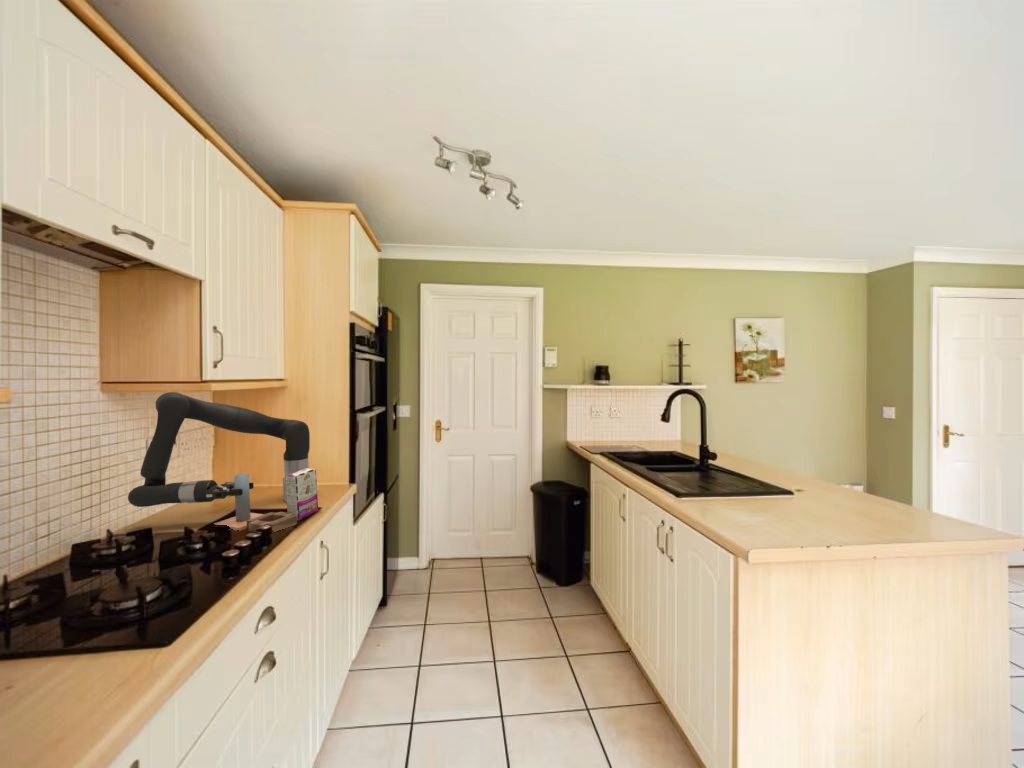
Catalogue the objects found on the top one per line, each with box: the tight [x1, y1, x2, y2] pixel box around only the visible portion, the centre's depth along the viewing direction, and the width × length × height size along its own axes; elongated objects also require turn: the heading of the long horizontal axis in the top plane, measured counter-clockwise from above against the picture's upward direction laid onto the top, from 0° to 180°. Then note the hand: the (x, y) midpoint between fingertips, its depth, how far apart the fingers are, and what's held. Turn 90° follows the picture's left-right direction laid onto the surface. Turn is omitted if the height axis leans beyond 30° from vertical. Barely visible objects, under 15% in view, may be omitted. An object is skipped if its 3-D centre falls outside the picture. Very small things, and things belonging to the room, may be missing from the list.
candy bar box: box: [285, 467, 319, 521], centre depth 164 cm, size 11×5×16 cm, turn 168°
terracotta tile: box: [213, 512, 265, 532], centre depth 158 cm, size 13×13×1 cm
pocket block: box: [246, 511, 298, 533], centre depth 152 cm, size 12×12×3 cm
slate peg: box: [233, 473, 251, 522], centre depth 157 cm, size 4×4×16 cm
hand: (247, 488), depth 158 cm, fingers open, 8 cm apart
